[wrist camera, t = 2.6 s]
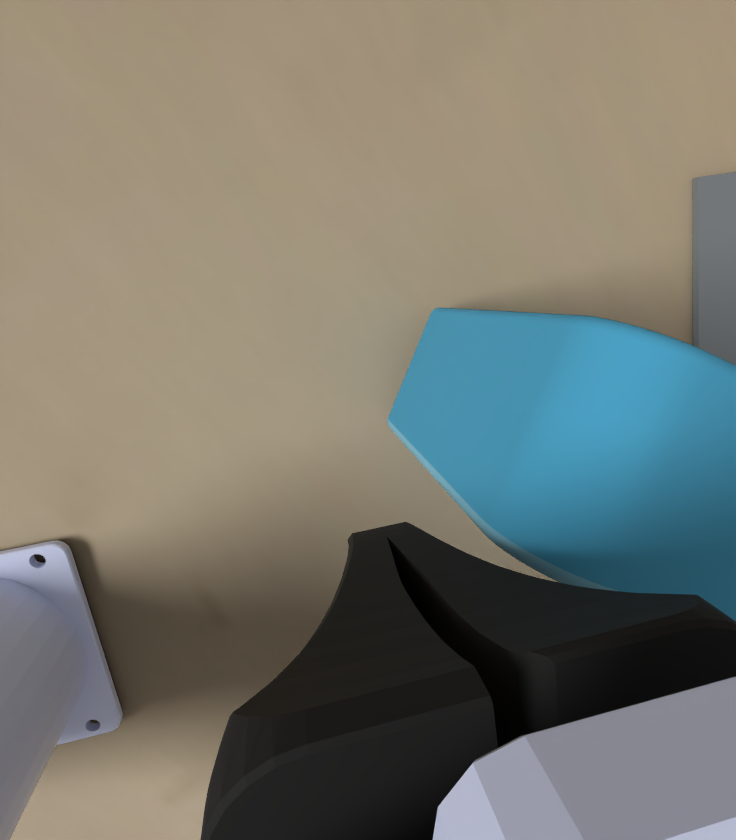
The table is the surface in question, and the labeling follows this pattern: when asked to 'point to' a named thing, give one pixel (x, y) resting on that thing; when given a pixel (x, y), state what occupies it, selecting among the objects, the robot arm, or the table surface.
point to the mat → (715, 265)
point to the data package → (581, 446)
